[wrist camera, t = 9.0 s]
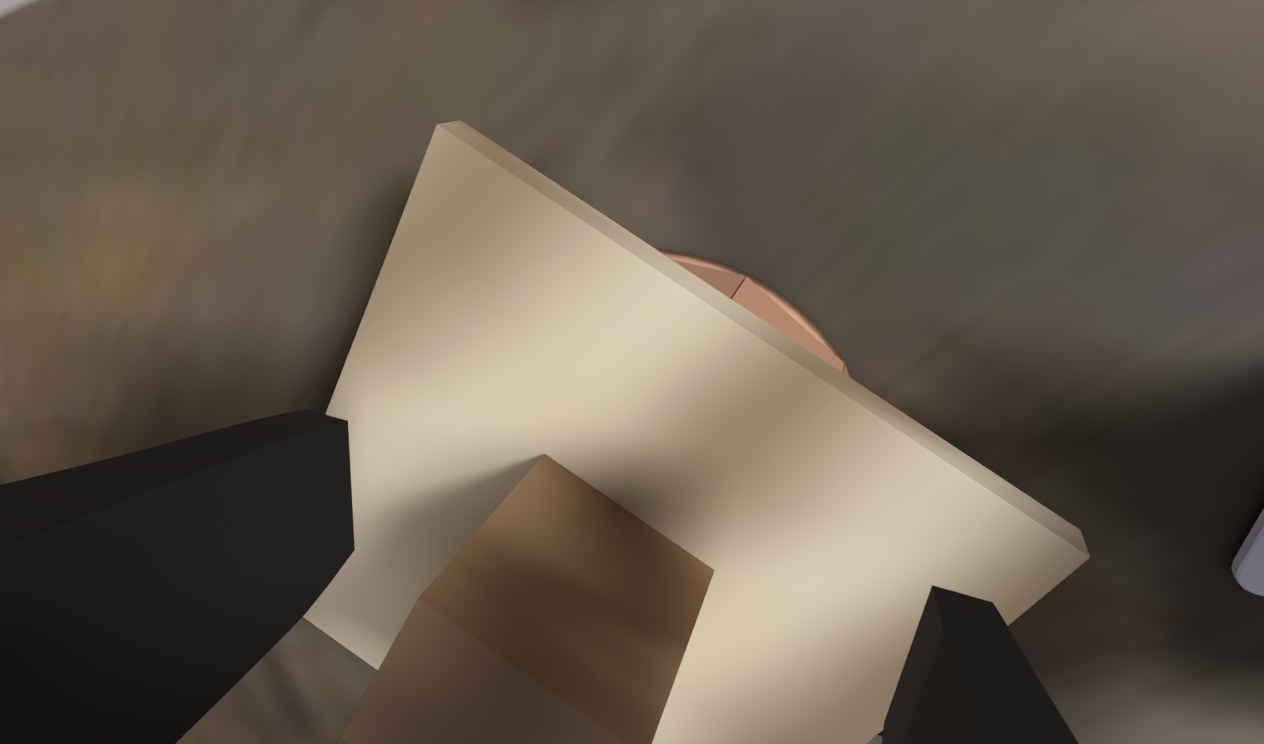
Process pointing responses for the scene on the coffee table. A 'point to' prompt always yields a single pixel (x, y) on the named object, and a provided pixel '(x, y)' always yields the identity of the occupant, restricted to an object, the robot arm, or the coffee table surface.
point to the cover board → (631, 494)
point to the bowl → (761, 303)
